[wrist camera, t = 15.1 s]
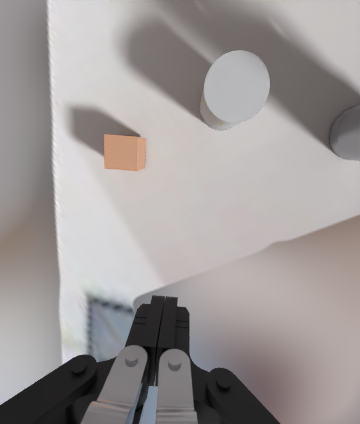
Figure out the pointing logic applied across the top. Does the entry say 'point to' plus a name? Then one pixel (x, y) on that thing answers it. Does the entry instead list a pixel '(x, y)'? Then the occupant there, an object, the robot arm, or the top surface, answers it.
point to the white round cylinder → (234, 90)
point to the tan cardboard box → (124, 152)
